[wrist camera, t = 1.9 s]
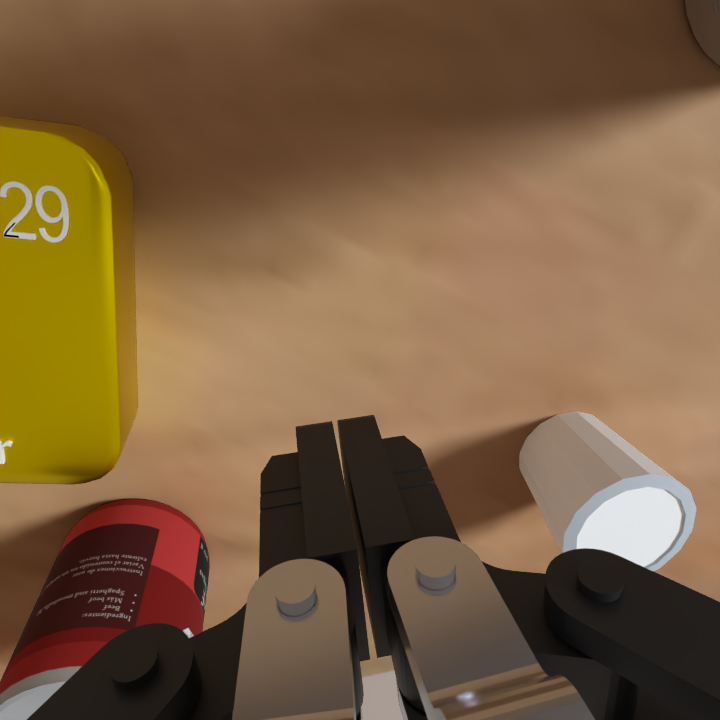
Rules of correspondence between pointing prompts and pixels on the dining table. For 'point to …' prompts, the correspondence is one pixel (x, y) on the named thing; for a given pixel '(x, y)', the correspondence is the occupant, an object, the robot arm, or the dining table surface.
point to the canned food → (107, 595)
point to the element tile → (65, 303)
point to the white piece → (604, 492)
